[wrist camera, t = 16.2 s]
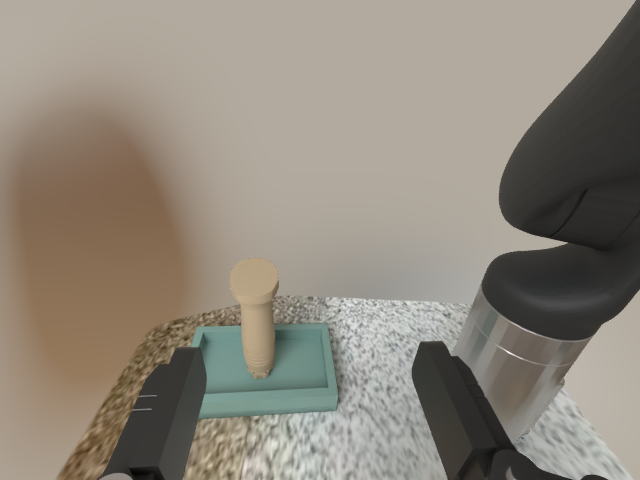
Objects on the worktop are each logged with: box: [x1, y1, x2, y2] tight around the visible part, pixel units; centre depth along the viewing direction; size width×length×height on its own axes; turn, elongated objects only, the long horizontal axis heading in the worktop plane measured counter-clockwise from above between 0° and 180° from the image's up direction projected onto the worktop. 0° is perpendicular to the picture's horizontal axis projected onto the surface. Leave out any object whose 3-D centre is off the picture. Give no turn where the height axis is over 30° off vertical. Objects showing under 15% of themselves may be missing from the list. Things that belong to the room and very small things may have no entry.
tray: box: [191, 323, 338, 419], centre depth 39 cm, size 18×11×3 cm, turn 95°
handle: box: [230, 258, 279, 379], centre depth 35 cm, size 5×6×15 cm
